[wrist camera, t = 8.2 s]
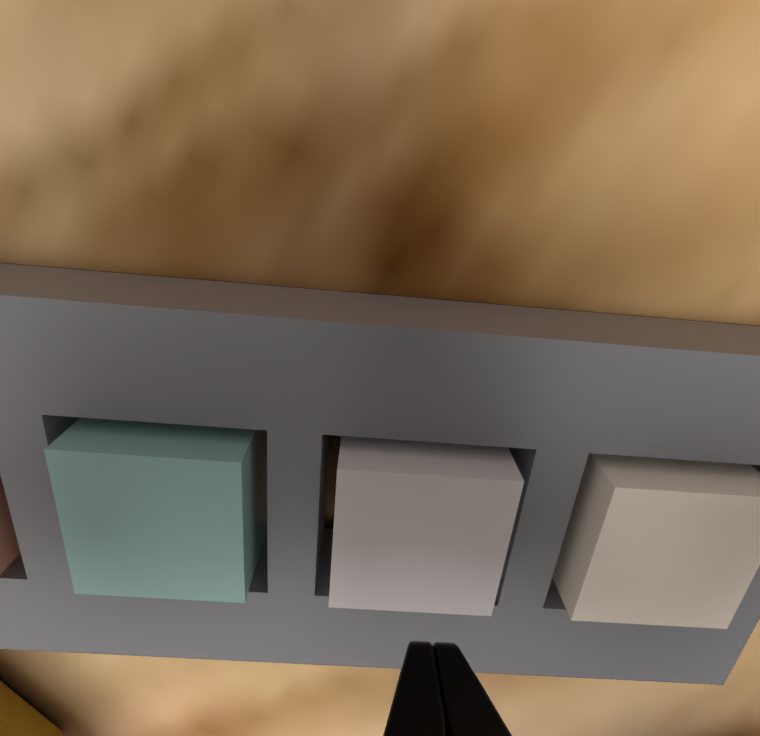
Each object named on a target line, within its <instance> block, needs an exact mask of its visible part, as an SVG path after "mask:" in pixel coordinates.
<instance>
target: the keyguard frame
mask: <svg viewBox="0 0 760 736" xmlns="http://www.w3.org/2000/svg"><path fill="white" fill-rule="evenodd" d="M80 418H95V419H109V420H124V421H138V422H152V423H166V424H181V425H195V426H209V427H223V428H238V429H252V430H266V431H267V530H266V534H265V537H264V541H263V544H262V547H261V551H260V554H259V558H258V561H257V564H256V568H255V571H254V574H253V578H252V581H251V585H250V588H249V591H248V595H247V598H246V601H245V603H235V602H216V601H198V600H180V599H161V598H143V597H125V596H107V595H88V594H74V589H73V584H72V579H71V575H70V570H69V565H68V560H67V556H66V551H65V546H64V542H63V537H62V532H61V527H60V523H59V518H58V513H57V509H56V504H55V499H54V494H53V490H52V485H51V480H50V476H49V471H48V466H47V461H46V457H45V452H44V449H45V448H46V447H47V446H48V445H50V444H51V443H52V442H53V441H54V440H55V439H57V438H58V437H59V436H60V435H61V434H62V433H64V432H65V431H66V430H67V429H68V428H69V427H71V426H72V425H73V424H74V423H75V422H76V421H78V420H79V419H80ZM329 435H337V436H352V437H366V438H380V439H394V440H409V441H423V442H437V443H451V444H466V445H480V446H494V447H508V448H509V450H510V452H511V454H512V457H513V459H514V461H515V463H516V465H517V467H518V469H519V471H520V473H521V476H522V478H523V480H524V485H523V489H522V493H521V497H520V501H519V505H518V509H517V513H516V517H515V521H514V526H513V530H512V534H511V538H510V542H509V546H508V550H507V554H506V558H505V562H504V567H503V571H502V575H501V579H500V583H499V587H498V591H497V595H496V599H495V603H494V608H493V612H492V616H477V615H459V614H440V613H422V612H404V611H386V610H367V609H349V608H331V607H328V606H329V590H330V574H331V558H332V542H333V529H326V528H324V517H325V498H326V479H327V460H328V442H329ZM589 453H594V454H608V455H622V456H637V457H651V458H665V459H679V460H694V461H708V462H722V463H736V464H750V465H751V466H752V467H753V468H755V469H756V470H757V471H758V472H760V326H752V325H740V324H728V323H716V322H704V321H692V320H680V319H668V318H655V317H643V316H631V315H619V314H607V313H595V312H583V311H571V310H559V309H547V308H535V307H523V306H511V305H499V304H487V303H475V302H463V301H451V300H439V299H427V298H415V297H403V296H391V295H379V294H367V293H355V292H343V291H331V290H319V289H307V288H295V287H282V286H270V285H258V284H246V283H234V282H222V281H210V280H198V279H186V278H174V277H162V276H150V275H138V274H126V273H114V272H102V271H90V270H78V269H66V268H54V267H42V266H30V265H18V264H6V263H0V475H1V479H2V483H3V487H4V491H5V494H6V498H7V502H8V506H9V510H10V514H11V518H12V522H13V525H14V529H15V533H16V537H17V541H18V545H19V549H20V552H21V553H20V554H19V555H18V556H17V557H16V558H15V559H14V560H13V561H12V563H11V564H10V565H9V566H8V567H7V568H6V569H5V570H4V571H3V572H2V573H1V575H0V649H11V650H31V651H51V652H71V653H92V654H112V655H132V656H152V657H172V658H192V659H213V660H233V661H253V662H273V663H293V664H313V665H334V666H354V667H374V668H394V669H402V665H403V661H404V658H405V654H406V650H407V647H408V644H409V642H410V641H428V642H430V643H432V645H433V643H435V642H449V643H455V644H456V645H457V646H458V647H459V648H460V650H461V651H462V653H463V655H464V656H465V658H466V660H467V661H468V663H469V665H470V666H471V668H472V670H473V672H475V673H495V674H515V675H535V676H556V677H576V678H596V679H616V680H636V681H657V682H677V683H697V684H717V685H724V683H725V681H726V679H727V678H728V676H729V674H730V672H731V670H732V668H733V667H734V665H735V663H736V661H737V659H738V657H739V655H740V654H741V652H742V650H743V648H744V646H745V644H746V643H747V641H748V639H749V637H750V635H751V633H752V632H753V630H754V628H755V626H756V624H757V622H758V620H759V619H760V565H759V567H758V569H757V571H756V573H755V575H754V577H753V579H752V581H751V583H750V585H749V587H748V589H747V591H746V593H745V595H744V597H743V599H742V601H741V603H740V605H739V606H738V608H737V610H736V612H735V614H734V616H733V618H732V620H731V622H730V624H729V626H728V628H727V629H717V628H699V627H681V626H662V625H644V624H626V623H608V622H589V621H571V619H570V617H569V615H568V612H567V610H566V608H565V605H564V603H563V601H562V598H561V596H560V594H559V592H558V589H557V587H556V585H555V582H554V580H553V578H552V576H553V573H554V569H555V566H556V563H557V559H558V556H559V553H560V549H561V546H562V543H563V539H564V536H565V533H566V529H567V526H568V522H569V519H570V516H571V512H572V509H573V506H574V502H575V499H576V496H577V492H578V489H579V486H580V482H581V479H582V476H583V472H584V469H585V465H586V462H587V459H588V455H589Z"/></svg>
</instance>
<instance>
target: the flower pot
mask: <svg viewBox="0 0 760 736" xmlns="http://www.w3.org/2000/svg"><path fill="white" fill-rule="evenodd" d="M0 736H64V735H63V733H62V731H61V730H60V729H59V728H58V727H57V726H55V725H54V724H53V723H51V722H50V721H49V720H48V719H46V718H45V717H44V716H43V715H42V714H40V713H39V712H38V711H37V710H36V709H34V708H33V707H32V706H31V705H29V704H28V703H27V702H26V701H24V700H23V699H22V698H21V697H20V696H18V695H17V694H16V693H15V692H13V691H12V690H11V689H10V688H9V687H7V686H6V685H5V684H4V683H3V682H1V681H0Z"/></svg>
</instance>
